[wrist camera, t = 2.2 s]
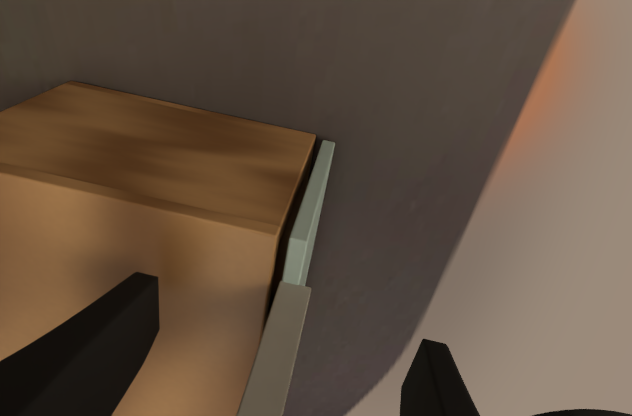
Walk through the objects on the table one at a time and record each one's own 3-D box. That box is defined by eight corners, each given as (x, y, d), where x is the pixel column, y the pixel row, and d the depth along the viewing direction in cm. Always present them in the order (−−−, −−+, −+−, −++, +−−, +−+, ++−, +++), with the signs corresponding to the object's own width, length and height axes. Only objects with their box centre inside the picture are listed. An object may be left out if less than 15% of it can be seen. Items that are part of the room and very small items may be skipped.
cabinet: (316, 134, 17) (277, 236, 11) (269, 386, 26) (233, 520, 20) (70, 79, 18) (-93, 152, 12) (104, 347, 26) (20, 466, 20)
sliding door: (344, 144, 17) (288, 387, 8) (310, 295, 21) (248, 568, 12) (321, 138, 17) (239, 375, 8) (292, 291, 21) (216, 560, 12)
